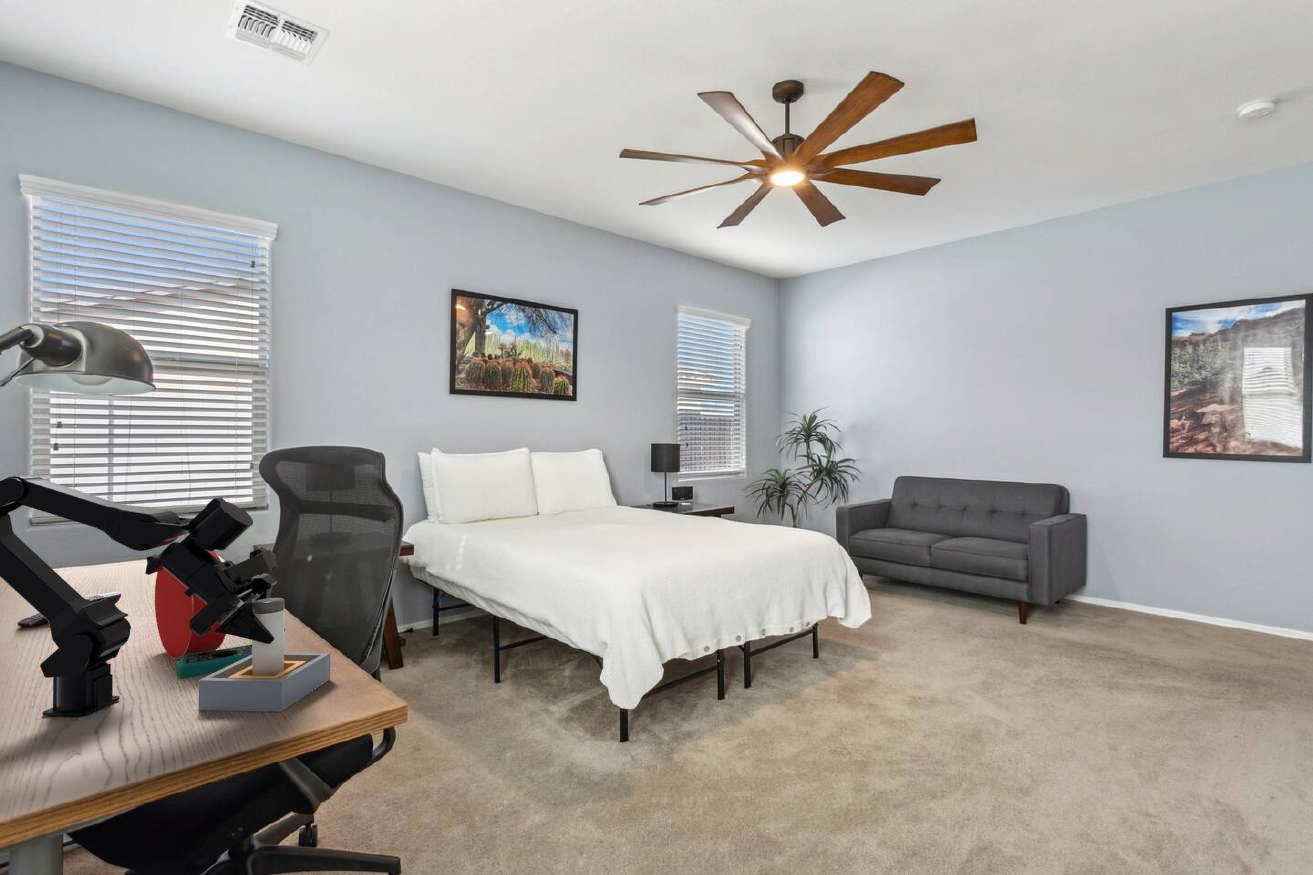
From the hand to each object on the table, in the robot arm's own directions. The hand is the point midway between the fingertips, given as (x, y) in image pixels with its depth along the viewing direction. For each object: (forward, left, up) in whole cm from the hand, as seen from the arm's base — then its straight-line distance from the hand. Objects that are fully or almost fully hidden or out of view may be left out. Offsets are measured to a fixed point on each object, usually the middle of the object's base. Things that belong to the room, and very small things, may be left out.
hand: (277, 637), depth 103 cm
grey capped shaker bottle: (-1, 0, -7) cm, 7 cm away
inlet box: (-1, 0, -9) cm, 9 cm away
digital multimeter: (-18, +13, -10) cm, 24 cm away
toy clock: (-29, +18, -9) cm, 36 cm away
